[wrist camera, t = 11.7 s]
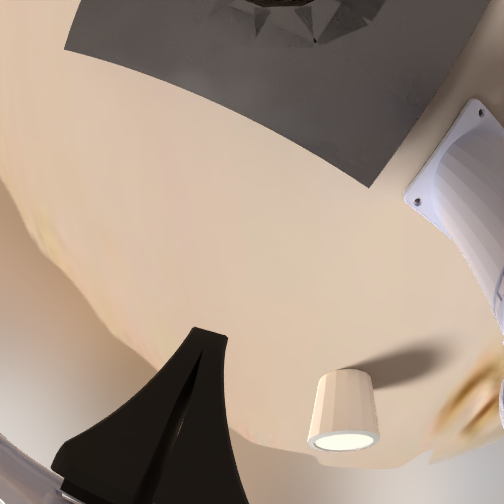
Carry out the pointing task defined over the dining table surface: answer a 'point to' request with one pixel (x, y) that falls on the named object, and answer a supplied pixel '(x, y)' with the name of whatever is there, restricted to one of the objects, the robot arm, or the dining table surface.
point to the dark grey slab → (294, 63)
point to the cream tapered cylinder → (344, 413)
